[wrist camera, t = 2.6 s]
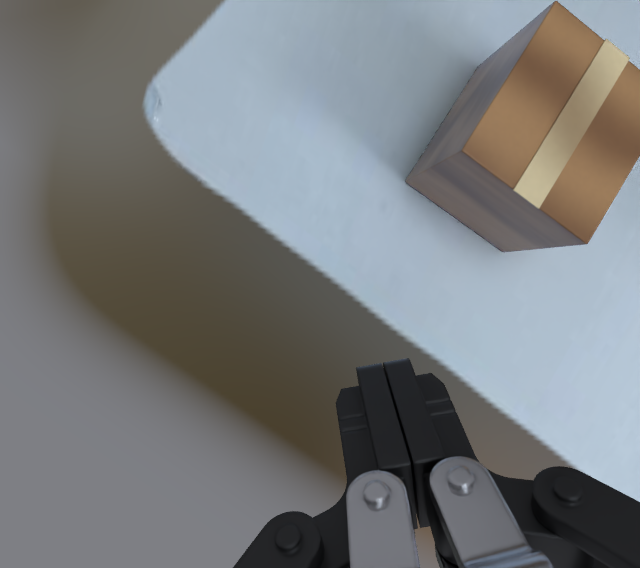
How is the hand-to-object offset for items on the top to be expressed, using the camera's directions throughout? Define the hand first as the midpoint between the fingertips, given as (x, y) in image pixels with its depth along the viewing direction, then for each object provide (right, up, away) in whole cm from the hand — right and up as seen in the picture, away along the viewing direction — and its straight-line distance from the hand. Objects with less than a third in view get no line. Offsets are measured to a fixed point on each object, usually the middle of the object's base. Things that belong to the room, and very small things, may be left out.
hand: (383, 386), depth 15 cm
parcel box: (+9, +11, +19) cm, 24 cm away
